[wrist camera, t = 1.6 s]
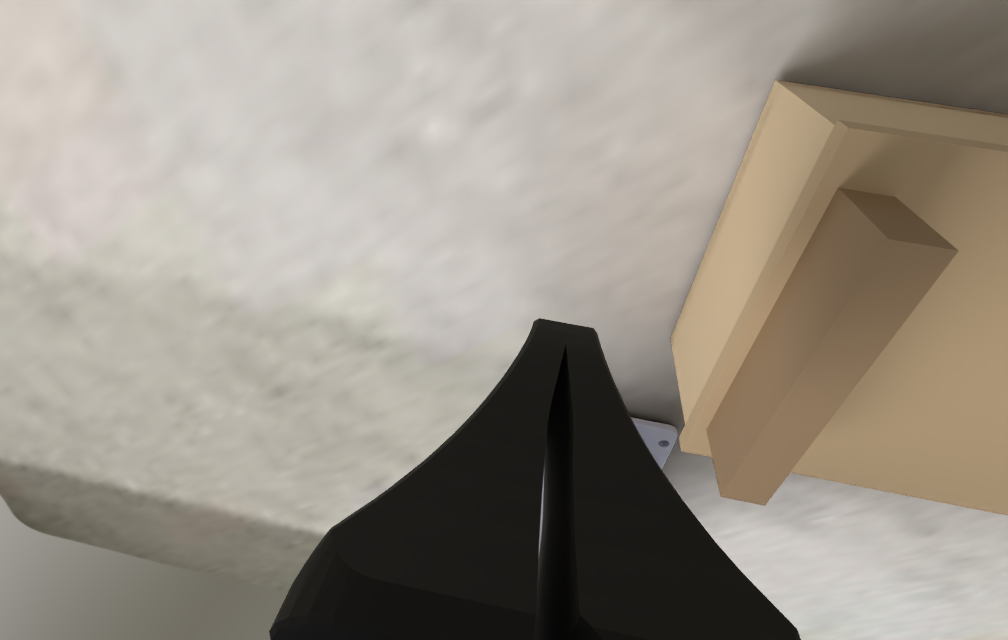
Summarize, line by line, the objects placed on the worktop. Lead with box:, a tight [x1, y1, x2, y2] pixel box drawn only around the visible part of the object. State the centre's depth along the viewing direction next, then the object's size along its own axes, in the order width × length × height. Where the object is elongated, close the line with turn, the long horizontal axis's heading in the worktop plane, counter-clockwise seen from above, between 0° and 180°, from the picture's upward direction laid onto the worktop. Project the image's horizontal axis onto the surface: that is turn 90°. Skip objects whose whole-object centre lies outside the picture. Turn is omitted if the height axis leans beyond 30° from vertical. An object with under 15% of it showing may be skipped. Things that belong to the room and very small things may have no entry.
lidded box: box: [670, 80, 1008, 424], centre depth 15 cm, size 16×10×5 cm, turn 84°
